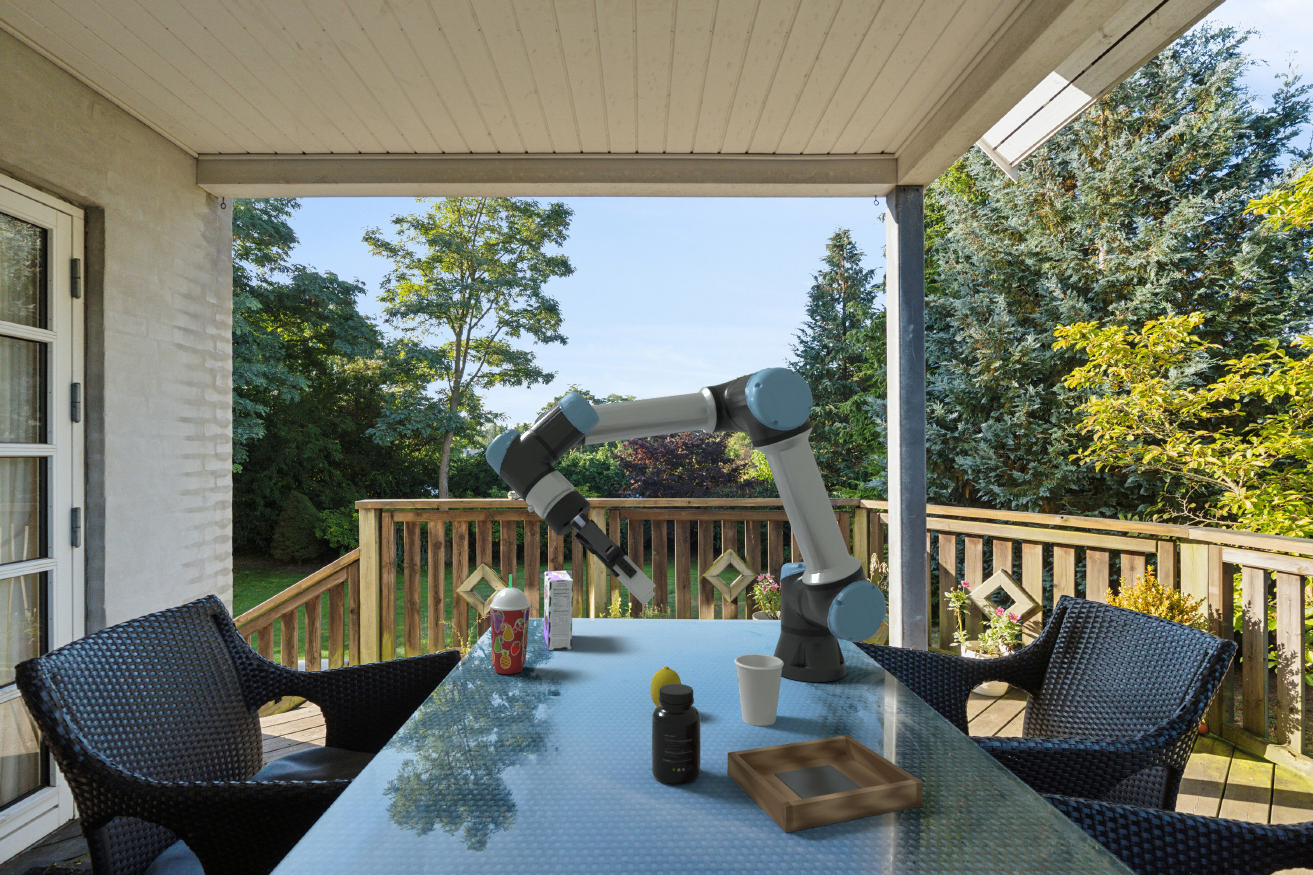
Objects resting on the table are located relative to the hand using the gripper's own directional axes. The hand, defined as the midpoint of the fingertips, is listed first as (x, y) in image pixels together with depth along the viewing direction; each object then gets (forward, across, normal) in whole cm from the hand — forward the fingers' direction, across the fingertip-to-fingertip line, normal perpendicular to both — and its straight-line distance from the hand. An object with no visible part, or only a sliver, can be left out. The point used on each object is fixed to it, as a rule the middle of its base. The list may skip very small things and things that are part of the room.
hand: (649, 596), depth 109 cm
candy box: (-12, -61, -20) cm, 66 cm away
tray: (+35, +10, -2) cm, 36 cm away
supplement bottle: (+20, +6, -15) cm, 26 cm away
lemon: (+15, -17, -11) cm, 25 cm away
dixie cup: (+27, -14, -1) cm, 31 cm away
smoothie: (-13, -40, -29) cm, 51 cm away
